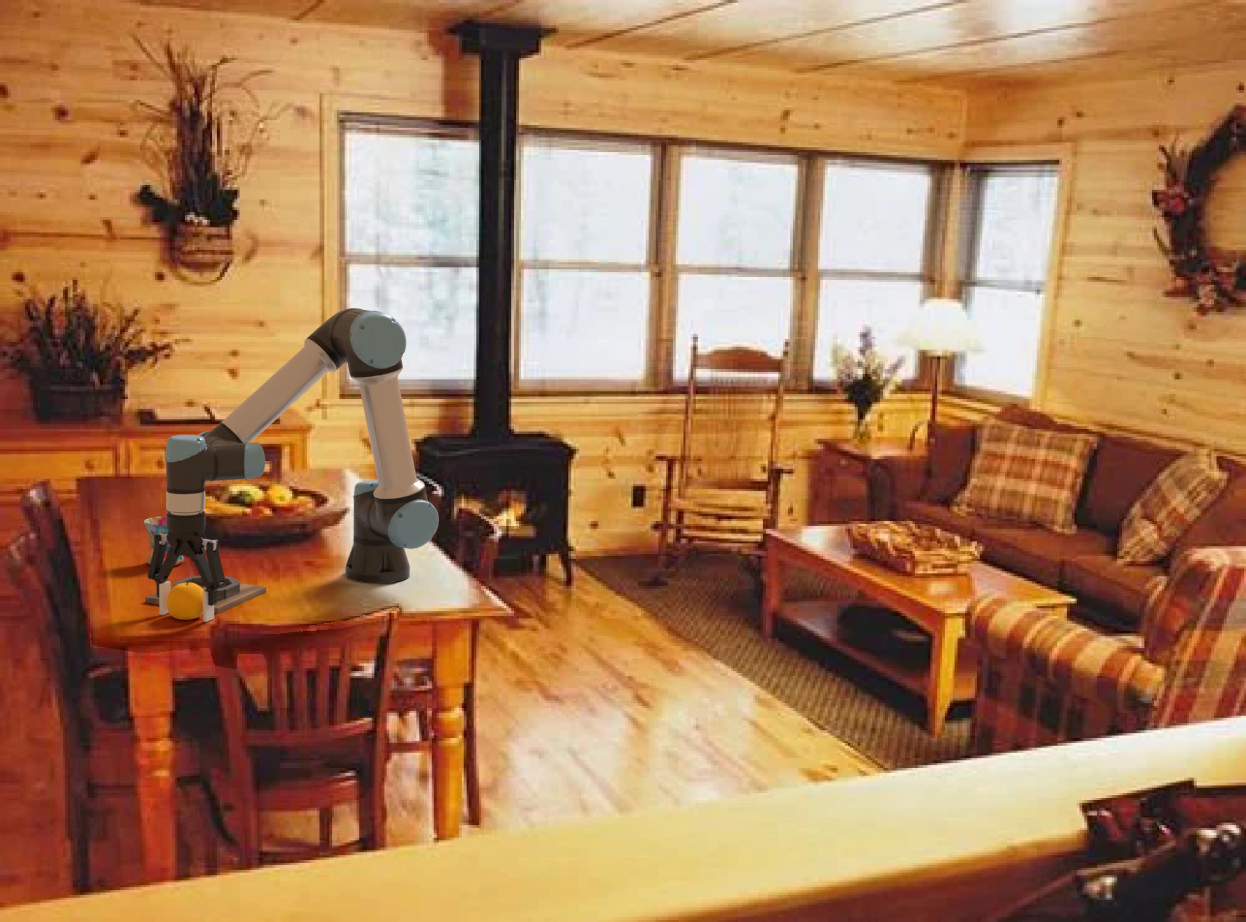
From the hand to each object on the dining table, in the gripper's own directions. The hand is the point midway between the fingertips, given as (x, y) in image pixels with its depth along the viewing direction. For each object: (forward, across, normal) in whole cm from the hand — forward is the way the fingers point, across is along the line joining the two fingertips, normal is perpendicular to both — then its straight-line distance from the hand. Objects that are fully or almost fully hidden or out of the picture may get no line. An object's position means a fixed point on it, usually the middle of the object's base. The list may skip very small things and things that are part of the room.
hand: (186, 616), depth 256 cm
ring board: (0, +5, -14) cm, 15 cm away
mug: (0, +29, -34) cm, 45 cm away
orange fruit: (0, 0, 0) cm, 0 cm away
